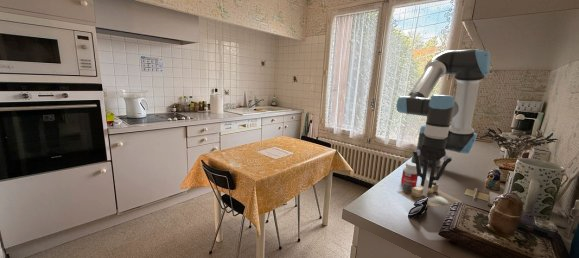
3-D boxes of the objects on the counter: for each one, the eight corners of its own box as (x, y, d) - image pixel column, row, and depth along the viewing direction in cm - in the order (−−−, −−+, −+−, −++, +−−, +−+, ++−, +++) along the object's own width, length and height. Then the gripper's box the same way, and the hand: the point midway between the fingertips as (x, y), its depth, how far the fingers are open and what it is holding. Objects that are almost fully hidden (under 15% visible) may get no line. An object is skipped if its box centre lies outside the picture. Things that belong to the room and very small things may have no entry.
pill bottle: (400, 188, 104) (404, 164, 102) (400, 183, 110) (404, 160, 108) (416, 191, 102) (420, 167, 100) (415, 186, 107) (419, 163, 105)
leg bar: (430, 187, 102) (432, 180, 101) (439, 191, 99) (440, 183, 98) (410, 193, 95) (411, 185, 94) (418, 198, 92) (420, 189, 91)
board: (431, 189, 105) (433, 179, 104) (461, 205, 92) (464, 194, 91) (395, 194, 98) (396, 183, 97) (422, 211, 86) (424, 199, 85)
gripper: (456, 137, 87) (444, 196, 92) (417, 132, 94) (408, 186, 99) (456, 141, 81) (443, 203, 86) (414, 135, 88) (404, 192, 93)
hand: (424, 194), depth 92 cm, fingers closed
